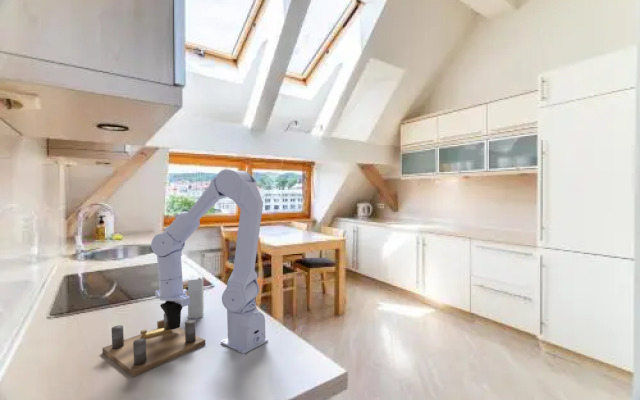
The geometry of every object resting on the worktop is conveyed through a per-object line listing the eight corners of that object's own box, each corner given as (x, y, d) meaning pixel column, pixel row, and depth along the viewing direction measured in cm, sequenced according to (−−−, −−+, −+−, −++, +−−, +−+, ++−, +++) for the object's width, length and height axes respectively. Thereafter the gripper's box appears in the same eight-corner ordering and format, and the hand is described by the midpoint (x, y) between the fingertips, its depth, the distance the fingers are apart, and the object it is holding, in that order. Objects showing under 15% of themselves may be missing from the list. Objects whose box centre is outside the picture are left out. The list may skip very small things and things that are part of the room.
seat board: (205, 344, 80) (204, 321, 80) (133, 376, 66) (132, 349, 66) (171, 327, 90) (170, 306, 90) (102, 352, 77) (101, 328, 76)
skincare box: (189, 312, 102) (188, 274, 101) (204, 310, 103) (203, 273, 102) (187, 319, 96) (186, 280, 95) (203, 317, 97) (202, 278, 97)
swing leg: (141, 339, 81) (141, 320, 80) (141, 335, 83) (140, 317, 82) (174, 331, 85) (174, 313, 85) (173, 328, 87) (172, 311, 87)
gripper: (199, 277, 83) (203, 327, 83) (171, 270, 92) (174, 316, 92) (173, 284, 77) (177, 338, 78) (146, 277, 86) (149, 326, 87)
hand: (174, 327), depth 85 cm, fingers closed, pressing on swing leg
